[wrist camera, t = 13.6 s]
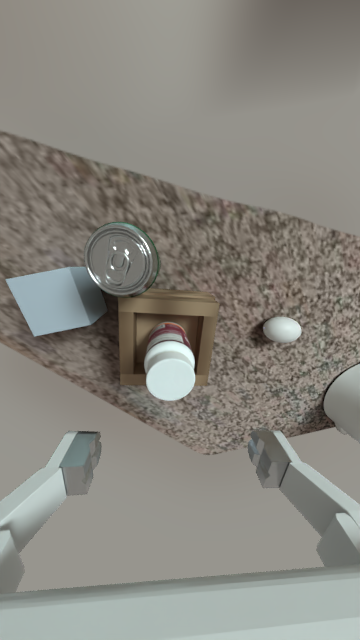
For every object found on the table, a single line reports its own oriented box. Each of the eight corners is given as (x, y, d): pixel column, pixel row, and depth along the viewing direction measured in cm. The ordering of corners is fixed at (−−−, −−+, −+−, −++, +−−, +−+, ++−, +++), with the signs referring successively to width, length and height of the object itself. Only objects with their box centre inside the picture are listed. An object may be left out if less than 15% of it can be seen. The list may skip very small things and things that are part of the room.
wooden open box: (207, 292, 24) (222, 301, 18) (198, 359, 28) (208, 387, 21) (128, 286, 23) (115, 294, 17) (128, 358, 26) (118, 386, 20)
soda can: (166, 251, 22) (169, 237, 11) (153, 288, 23) (144, 310, 12) (127, 235, 21) (86, 202, 10) (116, 275, 22) (69, 285, 11)
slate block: (93, 266, 22) (68, 267, 16) (107, 310, 24) (90, 324, 18) (46, 275, 22) (5, 279, 16) (65, 319, 24) (34, 336, 18)
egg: (287, 337, 28) (305, 348, 24) (253, 334, 27) (266, 345, 24) (294, 315, 27) (315, 323, 23) (259, 311, 26) (275, 319, 22)
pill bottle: (185, 355, 23) (198, 404, 15) (149, 355, 22) (141, 406, 14) (187, 320, 21) (202, 354, 13) (148, 320, 21) (139, 355, 13)
